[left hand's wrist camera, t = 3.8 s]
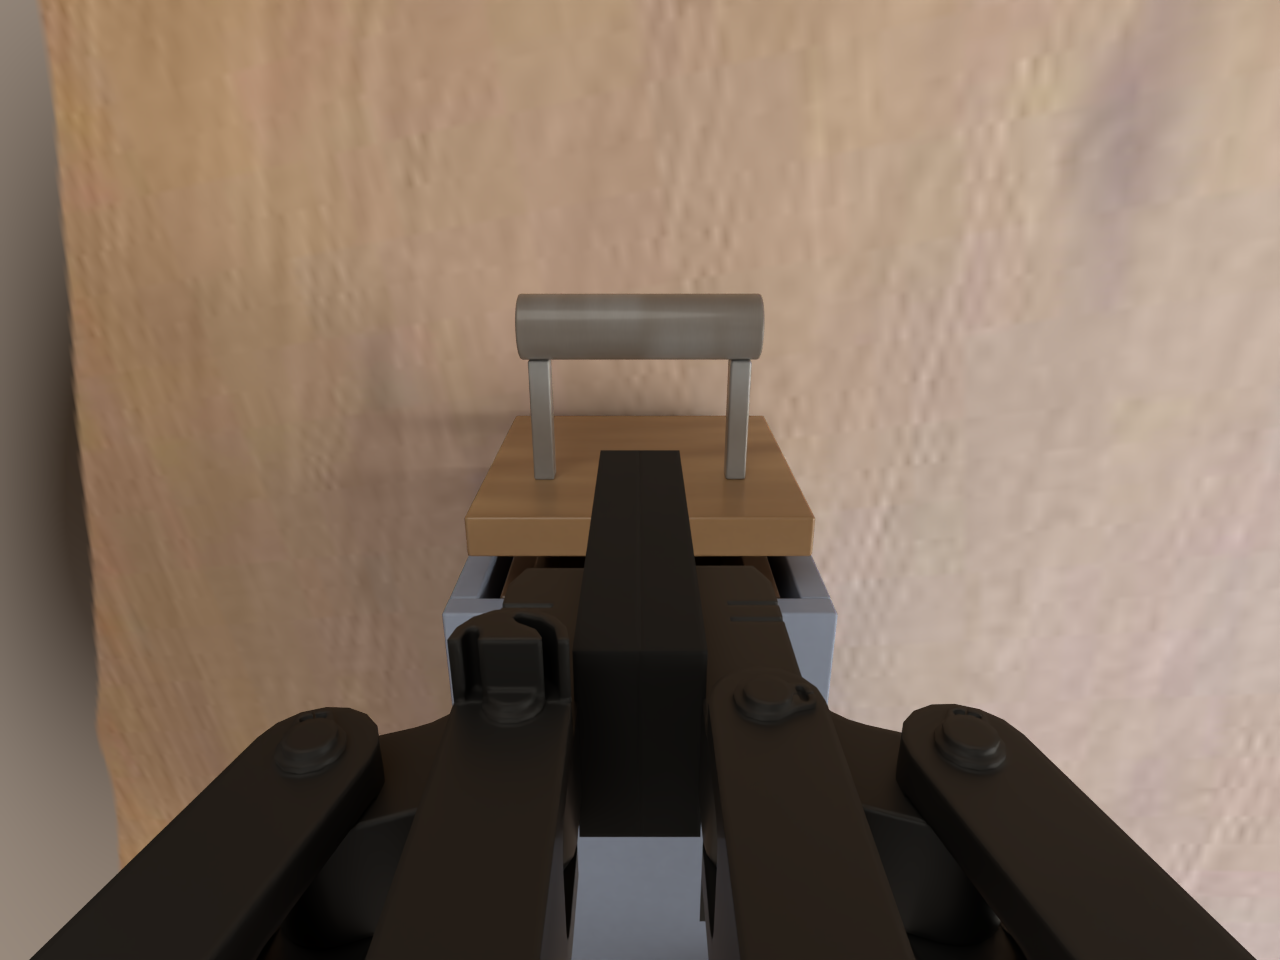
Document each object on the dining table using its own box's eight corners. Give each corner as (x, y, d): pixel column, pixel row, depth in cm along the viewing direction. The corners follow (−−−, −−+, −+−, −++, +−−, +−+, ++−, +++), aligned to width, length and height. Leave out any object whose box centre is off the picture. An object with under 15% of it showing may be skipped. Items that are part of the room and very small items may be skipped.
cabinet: (507, 466, 31) (441, 613, 20) (771, 465, 31) (838, 613, 20) (531, 810, 37) (490, 1052, 27) (748, 810, 37) (789, 1052, 27)
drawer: (506, 267, 27) (443, 312, 18) (773, 267, 27) (835, 312, 18) (538, 767, 35) (505, 958, 27) (742, 767, 35) (775, 958, 27)
